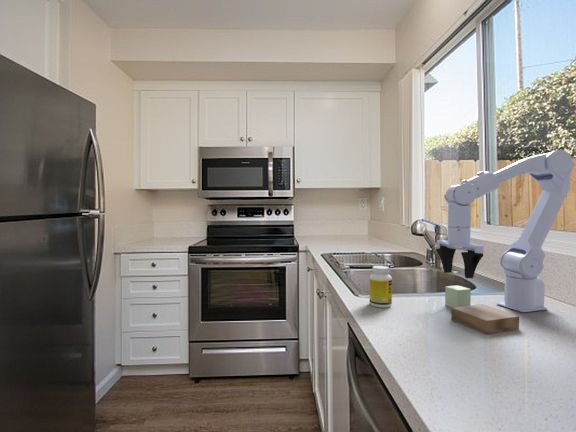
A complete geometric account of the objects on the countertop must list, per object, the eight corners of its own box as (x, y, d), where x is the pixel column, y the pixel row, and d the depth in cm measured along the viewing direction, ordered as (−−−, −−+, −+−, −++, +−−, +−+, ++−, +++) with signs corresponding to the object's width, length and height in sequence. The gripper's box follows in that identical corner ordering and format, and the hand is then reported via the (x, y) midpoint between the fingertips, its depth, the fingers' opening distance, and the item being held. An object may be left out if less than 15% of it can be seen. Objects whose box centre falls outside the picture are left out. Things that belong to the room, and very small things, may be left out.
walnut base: (481, 315, 87) (482, 304, 87) (518, 329, 78) (519, 316, 77) (451, 319, 84) (451, 307, 84) (486, 334, 74) (486, 320, 74)
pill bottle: (392, 309, 92) (393, 269, 92) (369, 307, 94) (370, 268, 93) (390, 302, 98) (391, 265, 98) (369, 301, 100) (369, 264, 99)
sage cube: (457, 303, 97) (457, 285, 97) (470, 308, 93) (470, 289, 93) (445, 305, 96) (445, 286, 96) (457, 310, 92) (457, 290, 92)
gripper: (429, 225, 100) (428, 271, 100) (469, 229, 86) (468, 281, 86) (447, 225, 102) (447, 269, 102) (490, 228, 88) (488, 279, 88)
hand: (458, 275), depth 94 cm, fingers open, 7 cm apart
